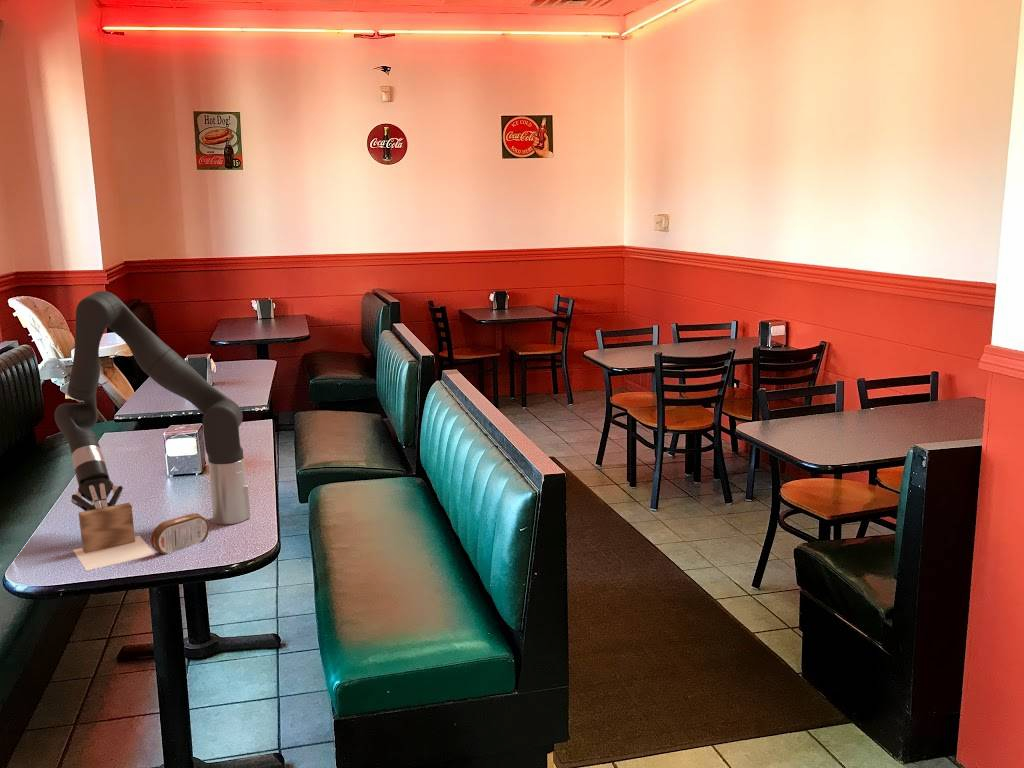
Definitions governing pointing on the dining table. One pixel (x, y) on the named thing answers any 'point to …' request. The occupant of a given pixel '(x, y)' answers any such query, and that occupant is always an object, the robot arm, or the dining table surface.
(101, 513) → the plaque
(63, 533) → the dining table surface
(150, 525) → the dining table surface
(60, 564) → the dining table surface
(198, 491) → the dining table surface
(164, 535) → the tin
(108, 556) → the placemat
